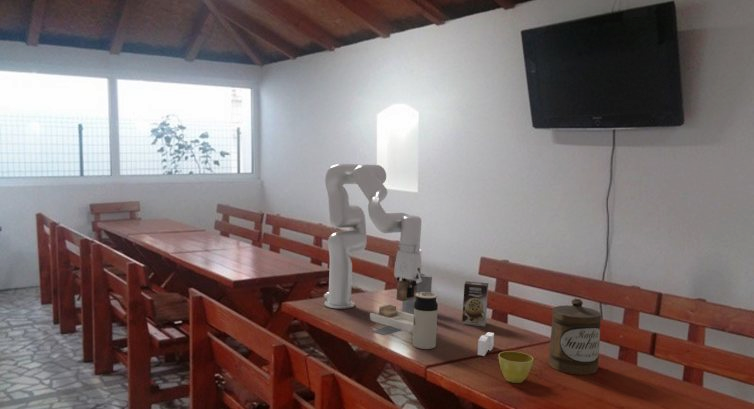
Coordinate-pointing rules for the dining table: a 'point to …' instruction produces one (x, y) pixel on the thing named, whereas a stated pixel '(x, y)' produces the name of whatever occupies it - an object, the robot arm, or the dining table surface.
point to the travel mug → (425, 320)
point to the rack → (396, 320)
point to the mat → (386, 330)
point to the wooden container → (575, 339)
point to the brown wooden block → (404, 290)
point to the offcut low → (389, 315)
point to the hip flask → (421, 287)
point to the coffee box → (475, 303)
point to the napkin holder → (485, 343)
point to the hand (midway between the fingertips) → (406, 295)
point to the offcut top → (387, 309)
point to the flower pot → (515, 365)
